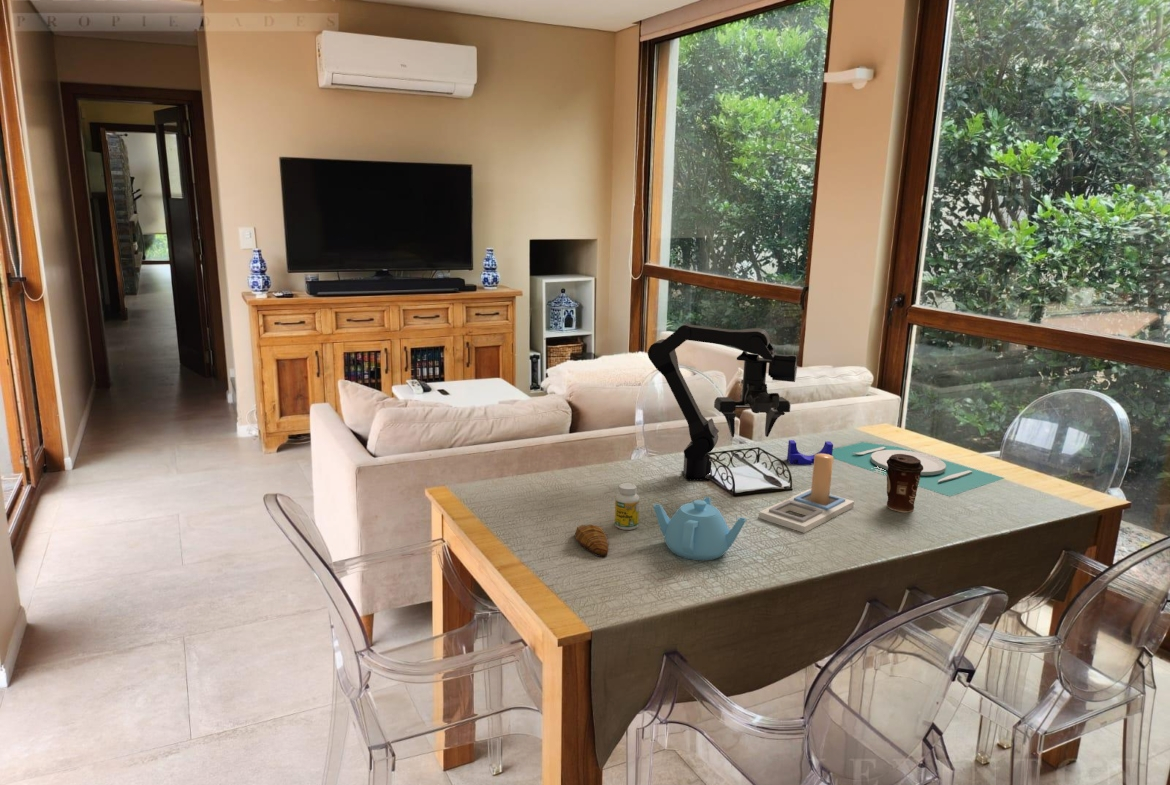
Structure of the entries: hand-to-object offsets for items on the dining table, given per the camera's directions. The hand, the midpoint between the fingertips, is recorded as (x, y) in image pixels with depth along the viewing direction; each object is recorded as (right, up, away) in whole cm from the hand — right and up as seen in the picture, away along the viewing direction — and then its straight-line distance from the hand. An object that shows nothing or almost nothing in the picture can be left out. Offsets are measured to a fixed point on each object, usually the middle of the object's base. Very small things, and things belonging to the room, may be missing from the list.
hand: (749, 436), depth 212 cm
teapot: (-19, -22, -38) cm, 48 cm away
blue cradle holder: (+22, -9, +23) cm, 33 cm away
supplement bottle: (-34, -19, -27) cm, 47 cm away
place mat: (+50, -10, +23) cm, 56 cm away
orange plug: (+15, -17, -11) cm, 25 cm away
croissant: (-42, -22, -38) cm, 60 cm away
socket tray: (+11, -17, -15) cm, 26 cm away
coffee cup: (+35, -17, -11) cm, 40 cm away
